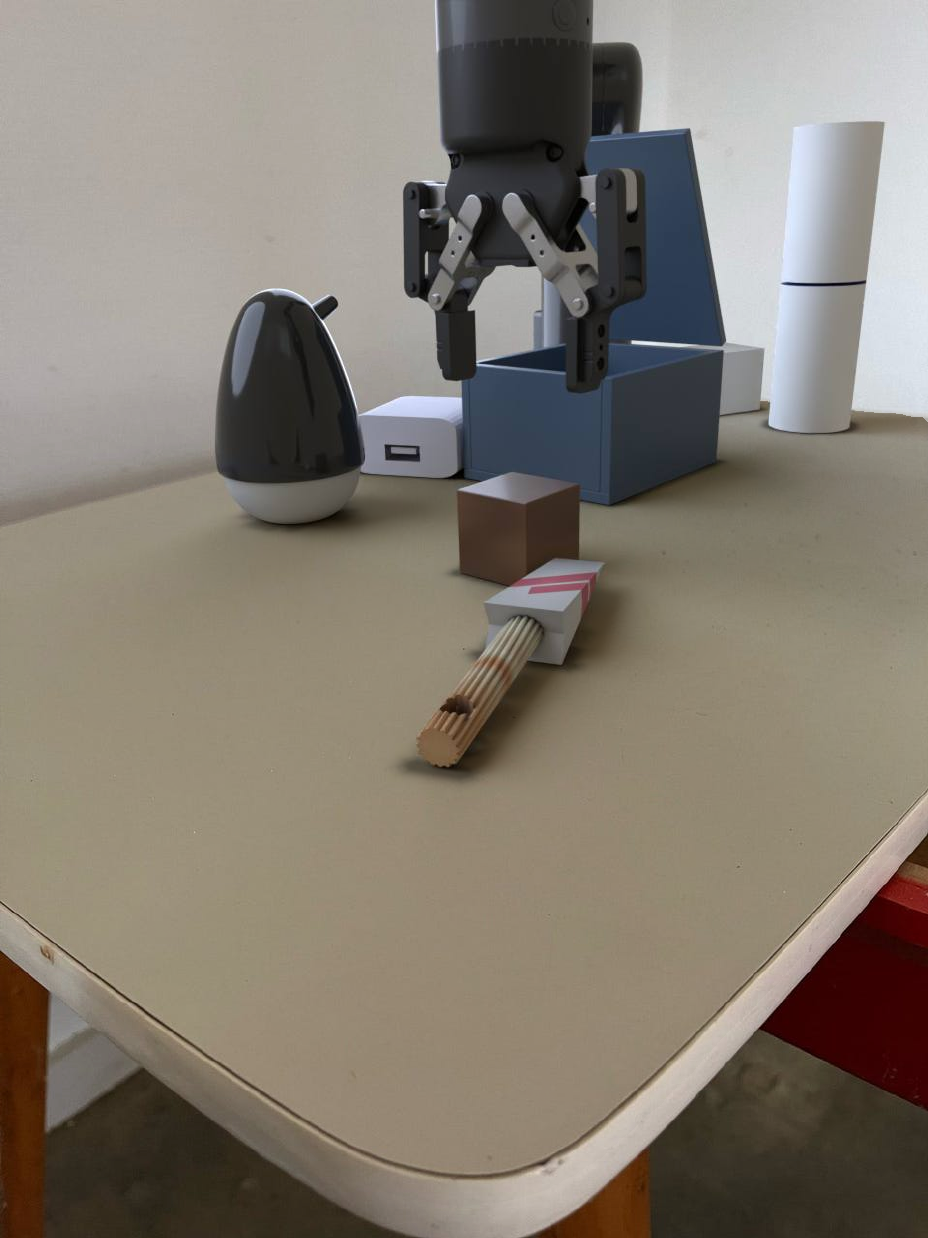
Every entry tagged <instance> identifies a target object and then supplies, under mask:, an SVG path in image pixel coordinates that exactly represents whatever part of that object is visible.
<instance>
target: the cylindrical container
mask: <svg viewBox="0 0 928 1238" xmlns="http://www.w3.org/2000/svg"><path fill="white" fill-rule="evenodd" d="M885 125H886V124H885V121H878V120H874V121H872V120H871V121H869V120H867V121H864V120H863V121H861V120H860V121H839V122H823V123H814V124H813V123H812V124H804V125H797V126H793V129H792V130H793V132H792V143H791V155H790V167H789V177H788V178H789V179H788V189H787V201H786V212H785V213H786V214H785V226H784V237H783V248H782V261H781V271H780V272H781V273H780V281H781V283H780V284H779V295H778V296H779V297H778V306H777V307H778V308H777V320H776V329H775V330H776V332H775V342H774V343H775V344H774V354H773V355H774V356H773V367H772V377H771V378H772V380H771V390H770V402H769V412H768V413H769V415H768V426H769V427H771V428H773V429H775V430H778V431H779V430H780V431H785V432H790V433H802V434H829V433H837V432H842V431H846V430H848V429H850V425H851V418H852V417H851V416H852V410H853V409H852V408H853V400H854V391H855V383H856V375H857V365H858V358H859V348H860V340H861V333H862V323H863V314H864V307H865V303H864V302H865V298H866V291H867V289H866V288H867V282H868V281H867V279H868V271H869V264H870V254H871V246H872V238H873V237H872V236H873V230H874V229H873V227H874V220H875V213H876V203H877V192H878V185H879V176H880V169H881V168H880V167H881V158H882V150H883V141H884V133H885V132H884V131H885Z"/></svg>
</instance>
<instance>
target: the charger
mask: <svg viewBox="0 0 928 1238" xmlns="http://www.w3.org/2000/svg"><path fill="white" fill-rule="evenodd" d="M358 415H359V419H360V424H361V429H362V434H363V439H364V447H365V462H364V464H363V465H362V466H361V471H360V473H364V474H369V475H370V474H371V475H382V476H383V475H384V476H401V477H417V478H418V477H419V478H431V479H432V478H433V479H444V478H449V477H452V476H453V475H455V474H457V473H458V472H460V471H461V470H463V469H464V449H463V419H462V397H450V396H426V395H425V396H424V395H423V396H422V395H421V396H419V395H404V396H401V397H398V398H395V399H393V400H391V401H388V402H386V403H384V404H381V405H380V406H376V407H375V408H372V409H370V410H368V411H366V412H363V413H361V414H358Z"/></svg>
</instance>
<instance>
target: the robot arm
mask: <svg viewBox="0 0 928 1238" xmlns="http://www.w3.org/2000/svg"><path fill="white" fill-rule="evenodd" d="M434 15H435V16H434V17H435V39H436V40H435V41H436V66H437V67H436V68H437V69H436V71H437V97H438V123H439V125H438V126H439V143H440V146H441V148H442V150H443V151H444V152H445V153H446V154H447V156H448V158H449V163H450V170H449V175H448V179H447V182H445V181H435V180H434V181H433V180H418V181H408V182H407V183H406V184H405V185H404V187H403V188H402V189H403V190H402V207H403V208H402V210H403V211H402V215H403V217H402V221H403V223H402V226H403V228H402V229H403V230H402V231H403V289H404V292H405V294H406V296H407V297H408V298H410V299H420V300H422V301H424V302H425V303H426V304H428V305H429V307H430V308H431V309H432V310H433V311H434V317H435V334H436V335H435V337H436V338H435V339H436V340H435V341H436V360H437V363H438V367H439V370H441V376H442V378H443V379H444V380H445V381H449V382H461V380H465V379H470V378H473V377H474V376H475V374H476V371H477V363H476V361H477V331H476V309H469V306H471V304H472V302H474V299H475V297H476V295H477V293H478V291H479V289H480V287H481V286H482V284H483V282H484V280H485V279H486V278H487V277H489V276H490V275H492V274H493V272H495V270H496V268H497V267H505V266H513V267H515V268H534V267H537V268H538V271H539V273H540V274H541V276H540V277H541V278H540V279H541V282H540V284H541V285H540V286H541V287H540V289H541V292H540V293H541V295H540V296H541V297H540V298H541V299H540V303H541V304H540V305H541V306H540V308H541V309H538V310H535V312H534V313H533V315H532V328H533V329H532V333H533V334H532V338H533V340H532V342H533V343H532V344H533V346H532V347H533V349H532V350H534V349H539V348H544V347H549V346H554V345H559V344H565V343H566V389H567V391H568V392H570V393H579V394H583V393H586V392H590V391H594V390H597V389H598V388H599V386H600V383H601V380H602V379H605V377H606V375H607V372H608V367H609V359H608V357H609V350H608V349H609V342H611V343H626V344H633V341H632V340H616V339H609V322H610V316H611V314H612V312H613V311H614V310H615V309H616V308H617V307H619V306H622V305H624V304H627V303H629V302H632V301H636V300H640V299H642V298H643V297H644V296H645V294H646V291H647V259H646V191H645V176H644V174H643V172H642V171H641V170H639V169H623V168H605V169H602V170H601V171H600V172H599V173H598V174H597V175H590V174H589V172H588V169H587V166H586V161H585V152H586V148H587V145H588V143H589V142H590V139H591V137H592V136H603V135H613V134H624V133H636V132H641V131H640V129H641V121H642V120H641V119H642V108H643V107H642V106H643V90H644V89H643V88H644V73H643V72H644V70H643V64H642V63H643V61H642V57H641V54H640V51H639V49H638V48H637V46H636V45H634V44H633V43H631V42H628V41H627V42H626V41H611V42H608V41H607V42H594V41H593V40H594V0H434ZM588 205H589V211H590V213H592V215H593V217H594V218H595V219H596V226H597V253H596V252H595V250H594V248H593V246H592V245H591V243H590V241H589V239H588V238H587V236H586V234H585V233H584V231H583V229H582V227H581V226H580V224H579V222H580V220H581V218H582V216H583V214H584V213H585V211H586V209H587V207H588ZM451 219H453V221H454V222H455V227H454V228H453V230H452V232H451V235H450V220H451ZM563 250H565V252H563ZM426 254H427V273H426ZM572 315H573V316H574V317H572Z"/></svg>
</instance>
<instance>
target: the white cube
mask: <svg viewBox="0 0 928 1238" xmlns="http://www.w3.org/2000/svg"><path fill="white" fill-rule="evenodd" d="M684 347H685V348H699V349H714V350H724V356H723V371H722V387H721V402H720V416H723V415H731V414H738V413H744V412H753V411H759V410H760V409H761V398H762V387H763V374H764V361H765V347H758V346H751V345H745V344H738V343H731V342H727V341H726V342H725V343H724V345H723V346H707V345H688V346H686V345H685V346H684Z"/></svg>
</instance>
